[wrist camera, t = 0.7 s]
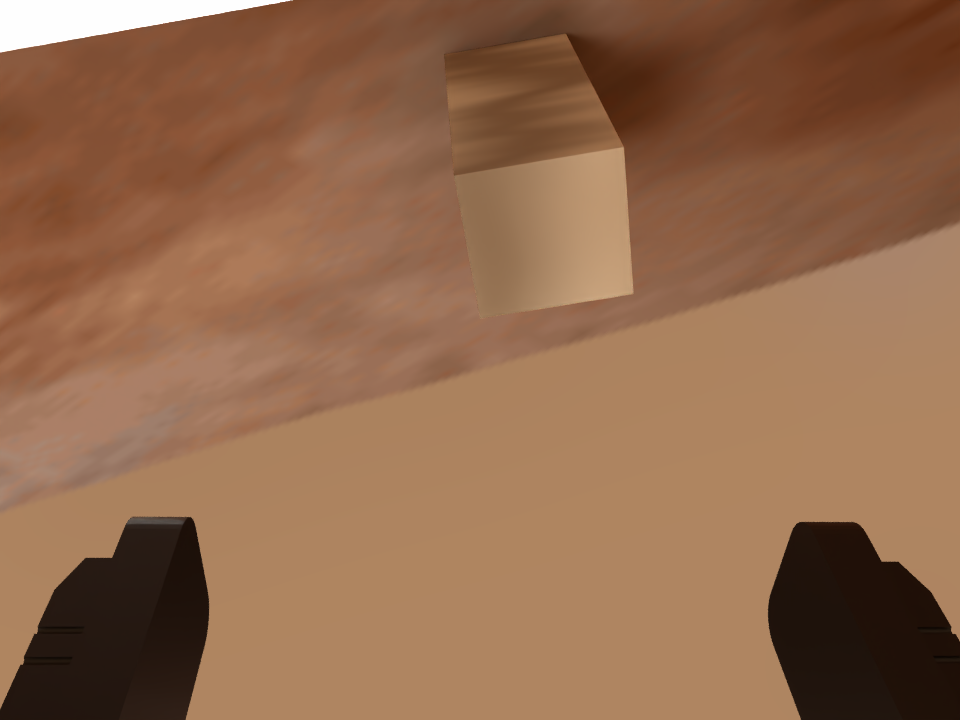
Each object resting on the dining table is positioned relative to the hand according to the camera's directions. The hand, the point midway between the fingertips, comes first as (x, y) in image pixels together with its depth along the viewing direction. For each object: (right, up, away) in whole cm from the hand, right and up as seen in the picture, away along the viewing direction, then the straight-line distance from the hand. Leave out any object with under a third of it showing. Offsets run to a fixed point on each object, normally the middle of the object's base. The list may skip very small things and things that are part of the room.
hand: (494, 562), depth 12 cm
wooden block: (+1, +11, +18) cm, 21 cm away
